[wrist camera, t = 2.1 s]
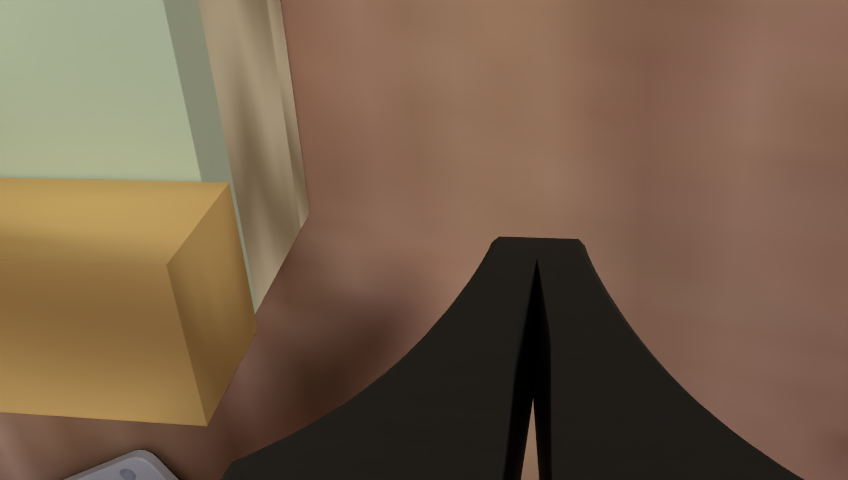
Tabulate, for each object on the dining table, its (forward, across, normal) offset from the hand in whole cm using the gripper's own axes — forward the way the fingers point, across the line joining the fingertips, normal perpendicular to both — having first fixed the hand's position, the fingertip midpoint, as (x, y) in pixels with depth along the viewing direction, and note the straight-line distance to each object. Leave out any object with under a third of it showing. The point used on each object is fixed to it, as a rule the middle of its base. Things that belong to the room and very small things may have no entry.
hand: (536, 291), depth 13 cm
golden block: (+1, +10, 0) cm, 11 cm away
